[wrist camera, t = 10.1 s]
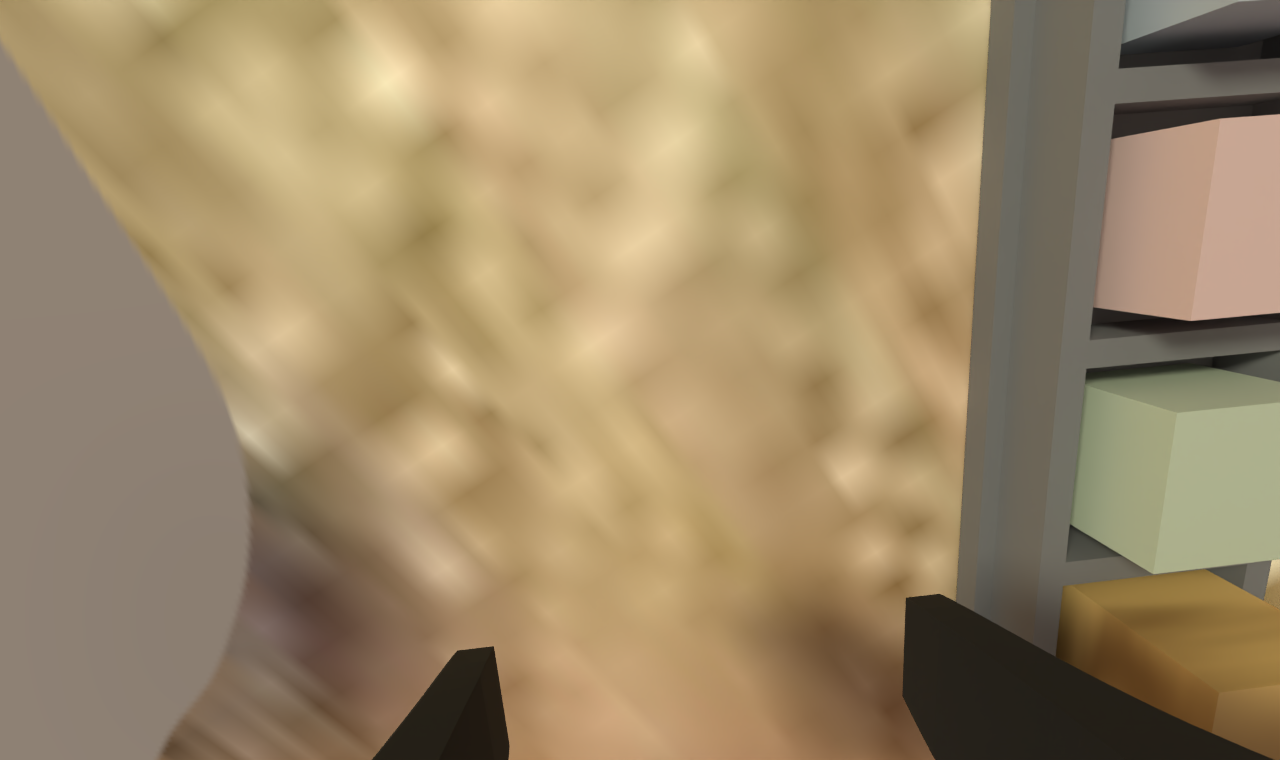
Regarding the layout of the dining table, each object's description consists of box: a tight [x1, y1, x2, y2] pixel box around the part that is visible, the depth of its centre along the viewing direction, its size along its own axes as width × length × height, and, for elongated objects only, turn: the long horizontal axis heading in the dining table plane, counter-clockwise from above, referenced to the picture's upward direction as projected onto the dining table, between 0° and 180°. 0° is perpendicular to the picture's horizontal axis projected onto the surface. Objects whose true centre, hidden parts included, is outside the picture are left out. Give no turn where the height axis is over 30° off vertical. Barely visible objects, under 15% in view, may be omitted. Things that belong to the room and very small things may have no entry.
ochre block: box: [1056, 569, 1280, 760], centre depth 18 cm, size 4×4×6 cm
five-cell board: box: [956, 0, 1280, 657], centre depth 16 cm, size 37×9×5 cm, turn 4°
